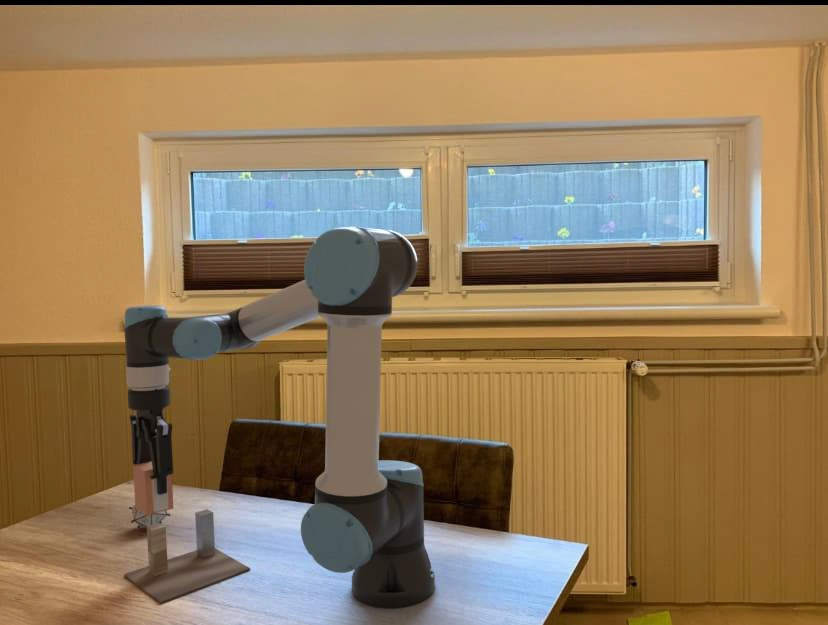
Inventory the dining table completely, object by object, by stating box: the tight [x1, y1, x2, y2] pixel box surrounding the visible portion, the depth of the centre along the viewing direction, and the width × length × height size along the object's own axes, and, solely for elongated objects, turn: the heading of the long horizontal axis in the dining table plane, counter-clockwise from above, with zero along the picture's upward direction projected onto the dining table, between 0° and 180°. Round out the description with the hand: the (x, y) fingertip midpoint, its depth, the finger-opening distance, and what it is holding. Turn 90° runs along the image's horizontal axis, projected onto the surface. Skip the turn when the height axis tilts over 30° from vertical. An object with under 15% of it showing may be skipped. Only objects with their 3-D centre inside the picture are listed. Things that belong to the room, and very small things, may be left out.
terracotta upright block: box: [132, 461, 174, 516], centre depth 130 cm, size 5×5×9 cm
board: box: [123, 547, 251, 605], centre depth 131 cm, size 16×18×1 cm
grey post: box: [194, 509, 216, 559], centre depth 138 cm, size 3×3×9 cm
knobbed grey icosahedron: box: [128, 504, 171, 529], centre depth 155 cm, size 9×8×10 cm
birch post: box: [146, 523, 168, 576], centre depth 131 cm, size 3×3×9 cm
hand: (154, 505), depth 131 cm, fingers closed on terracotta upright block, 5 cm apart
